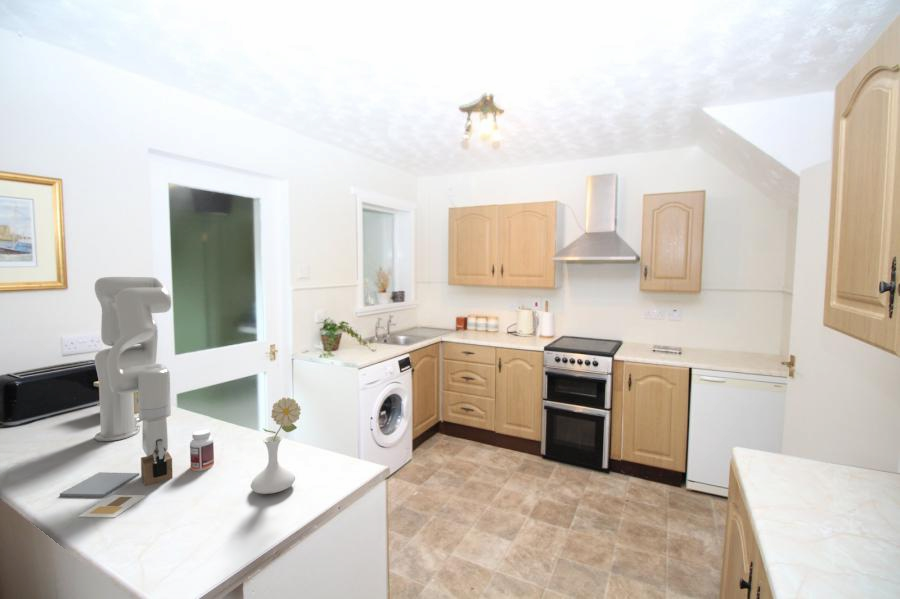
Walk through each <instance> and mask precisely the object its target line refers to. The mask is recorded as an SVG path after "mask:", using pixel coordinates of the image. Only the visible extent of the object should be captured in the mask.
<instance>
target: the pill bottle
mask: <svg viewBox="0 0 900 599" xmlns="http://www.w3.org/2000/svg"><path fill="white" fill-rule="evenodd" d="M191 436H192V440H191V441H190V443H189V453H190V455H189V456H190V458H189V459H190V469H191V471H193V472H202V471H207V470H208V469H211V468H213V467H214V465H215V456H214V455H215V451H214V450H215V449H214V447H215V446H214V438H213V437H212V436H211V430H210V429H199V430H196V431H193V432H192V435H191Z"/></svg>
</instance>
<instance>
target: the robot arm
mask: <svg viewBox="0 0 900 599" xmlns="http://www.w3.org/2000/svg"><path fill="white" fill-rule="evenodd" d="M94 293H95V296H96V298H97V300H98V302H99V304H100V308H101V325H100V326H101V330H100V331H101V334H100V336H101V341H102V343H103V344H104V345H105V346H108V348H104V349H102V350H100V351H98V352H97V353H96V354H95V356H94V365H95V370H96V373H97V374H96V375H97V378H98V381H99V387H98V392H99V393H98V396H99V404H100V406H99V416H100V417H99V420H100V421H99V424H100V431H99V432H98V433H96V434H95V436H94V439H95V441H98V442H112V441H113V442H114V441H119V440H123V439H126V438H127V439H128V438H131V437H133V436H136V435H137V434H139V433H140V432H141V430H142V432H141V433H142V434H141V435H142V436H141V437H142V440H141V441H142V444H141V446H142V450H143V451H144V454H145V455H146V456H150V455H153V460H154V463H153V477H154V478H156V477H160V476H163V475H166V474H167V460H166V455H165V452H167V451H168V444H169V443H168V442H169V441H168V440H169V438H168V420H167V419H168V417H170V416H172V407H171V406H172V404H171V401H172V400H171V399H172V398H171V377H170V376H171V375H170V371H169V369H168V368H167V367H166V366H165V365H164V364H162V363H156V362H157V354H158V353H157V351H158V349H157V348H158V336H159V335H158V332H159V330H158V325H157V322H156V320H154V319H153V314H159V313H160V314H161V313H162V314H163V313H167V312H169V311H170V310H171V307H172V297H171V294H170V292H169V289H167V287H166V286H165V285H164V284H163V283H162V281H161V280H160V279H158V278H156V277H151V276H146V277H145V276H105V277H100V278H98V279H97V280H96V281H95V283H94ZM109 346H110V347H109ZM134 392H138V403H139V413H138V417H135V414H134ZM141 422H142V429H141V428H140V426H137V425H138V424H139V423H141ZM156 455H158V456H157V457H156Z"/></svg>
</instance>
